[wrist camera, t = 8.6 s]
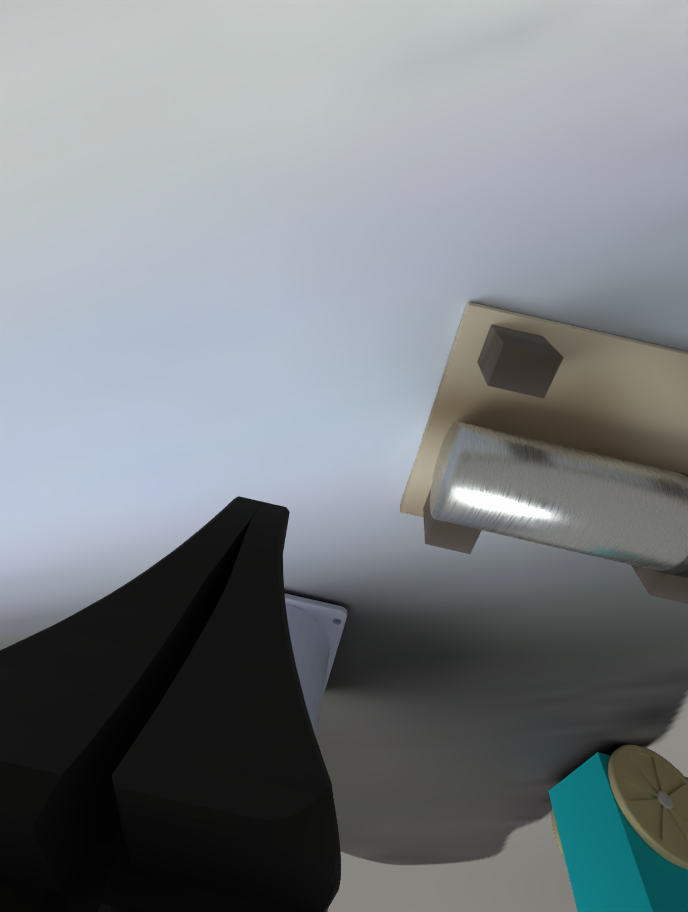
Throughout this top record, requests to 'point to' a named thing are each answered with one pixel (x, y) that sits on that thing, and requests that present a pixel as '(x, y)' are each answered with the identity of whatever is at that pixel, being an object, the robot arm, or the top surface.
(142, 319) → the top surface
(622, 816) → the toy train
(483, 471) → the tube
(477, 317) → the collar board
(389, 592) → the top surface
